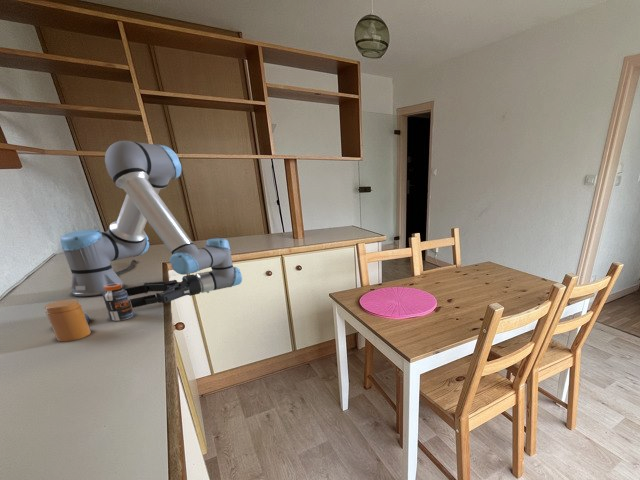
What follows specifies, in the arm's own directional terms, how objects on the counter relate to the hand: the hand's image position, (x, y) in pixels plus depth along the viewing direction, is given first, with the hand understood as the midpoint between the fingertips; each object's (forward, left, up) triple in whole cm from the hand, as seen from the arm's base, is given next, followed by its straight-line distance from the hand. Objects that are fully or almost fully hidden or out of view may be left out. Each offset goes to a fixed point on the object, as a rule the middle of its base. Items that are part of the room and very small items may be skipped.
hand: (125, 298), depth 102 cm
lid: (+1, -14, -5) cm, 15 cm away
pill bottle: (+1, -2, -6) cm, 7 cm away
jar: (+11, -11, -6) cm, 17 cm away
